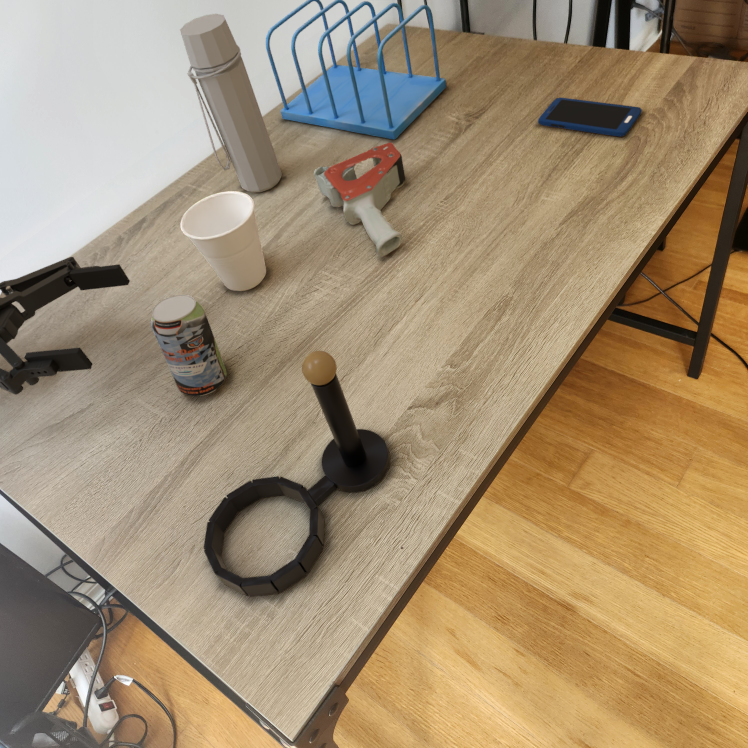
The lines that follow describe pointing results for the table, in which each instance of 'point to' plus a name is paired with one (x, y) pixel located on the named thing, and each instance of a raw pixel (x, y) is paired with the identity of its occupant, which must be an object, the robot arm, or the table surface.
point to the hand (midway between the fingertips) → (106, 314)
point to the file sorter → (360, 82)
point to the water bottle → (230, 102)
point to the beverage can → (188, 345)
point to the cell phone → (590, 116)
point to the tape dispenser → (366, 192)
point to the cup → (227, 238)
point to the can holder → (342, 471)
